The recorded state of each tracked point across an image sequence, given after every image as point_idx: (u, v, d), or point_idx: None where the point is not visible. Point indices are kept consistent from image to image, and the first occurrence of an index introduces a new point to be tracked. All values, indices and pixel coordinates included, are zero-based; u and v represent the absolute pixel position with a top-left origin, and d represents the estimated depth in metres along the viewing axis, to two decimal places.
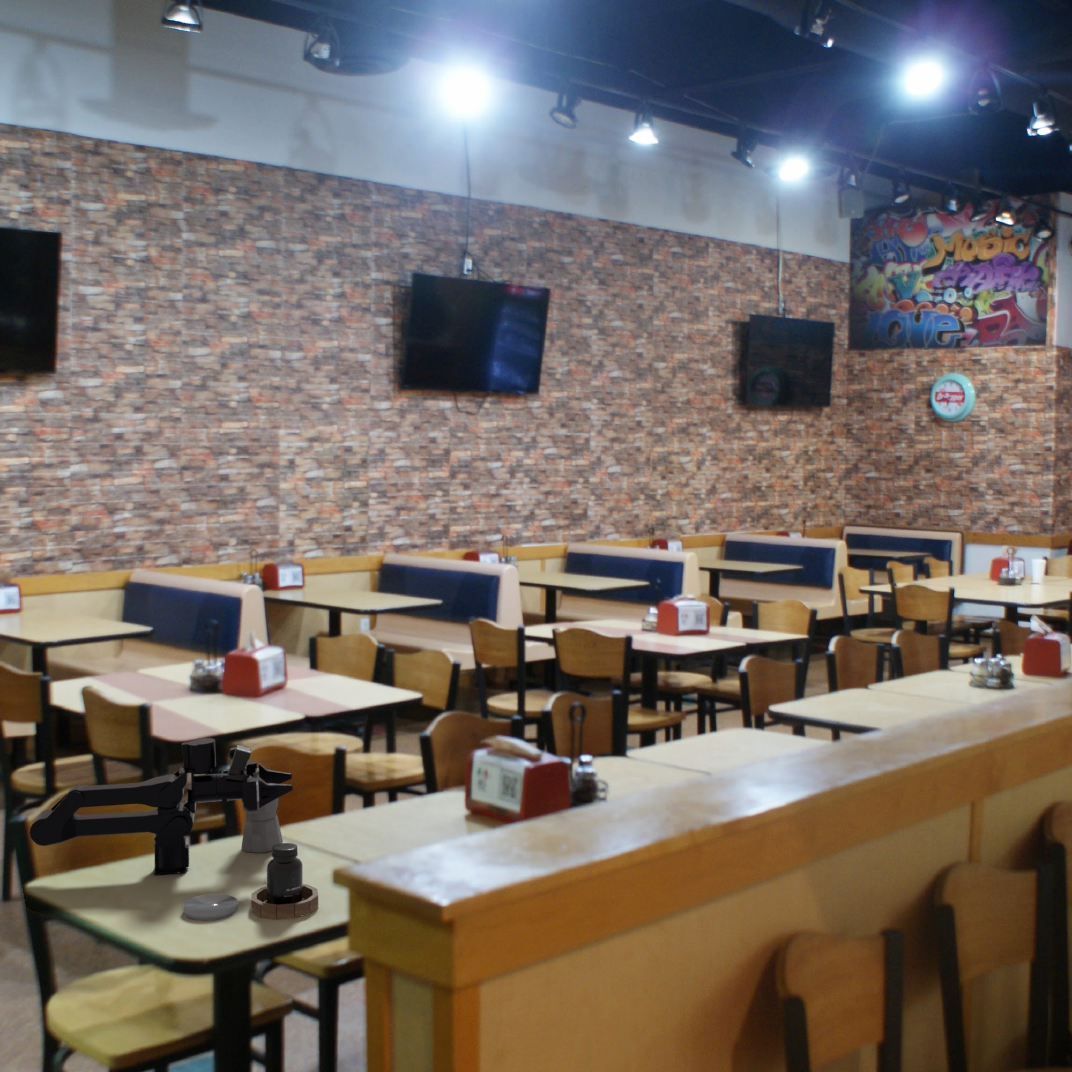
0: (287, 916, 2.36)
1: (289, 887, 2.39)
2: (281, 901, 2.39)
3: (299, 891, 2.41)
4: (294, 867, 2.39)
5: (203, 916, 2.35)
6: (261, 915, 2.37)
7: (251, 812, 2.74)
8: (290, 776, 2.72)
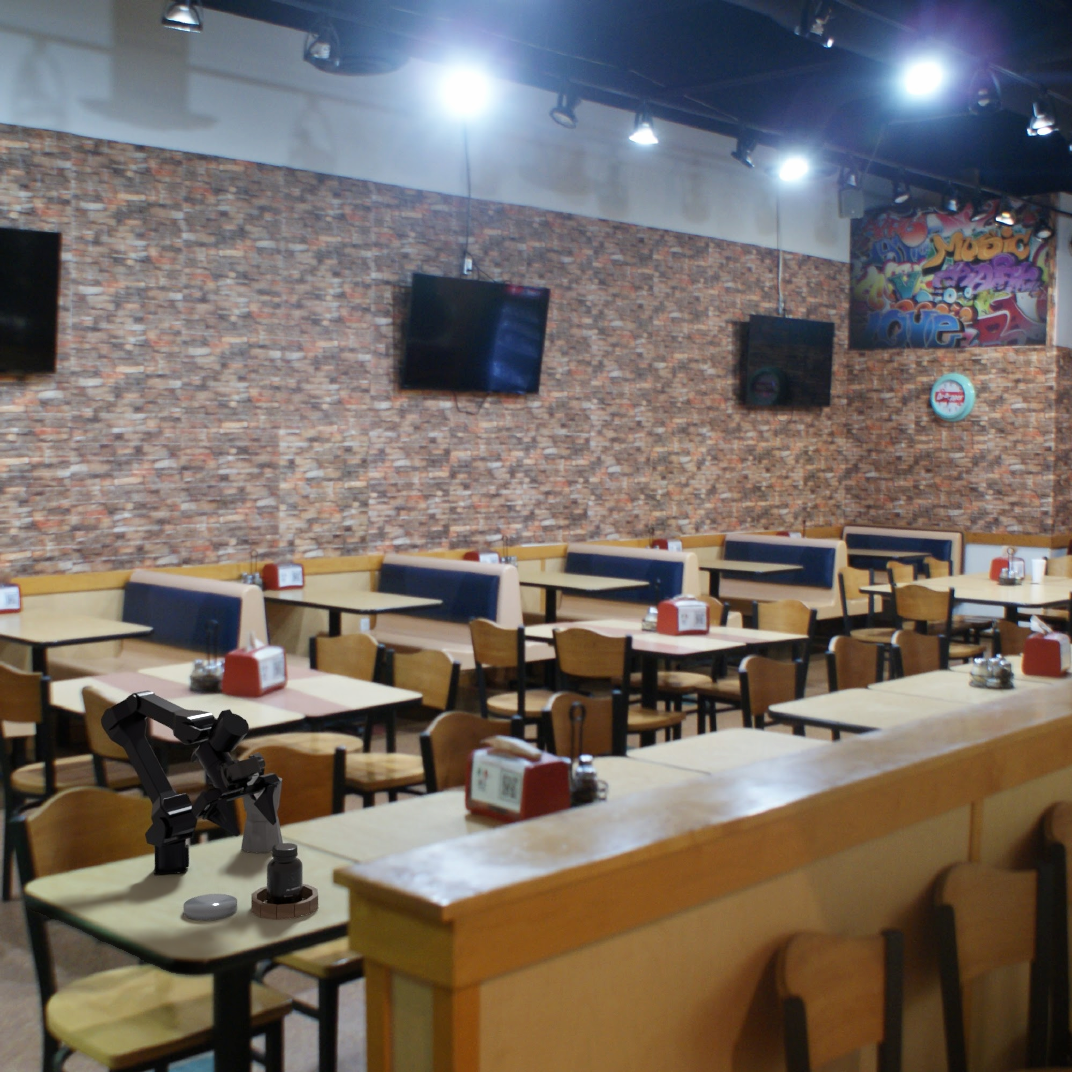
0: (287, 916, 2.36)
1: (289, 887, 2.39)
2: (281, 901, 2.39)
3: (299, 891, 2.41)
4: (294, 867, 2.39)
5: (203, 916, 2.35)
6: (261, 915, 2.37)
7: (252, 812, 2.75)
8: (274, 822, 2.50)
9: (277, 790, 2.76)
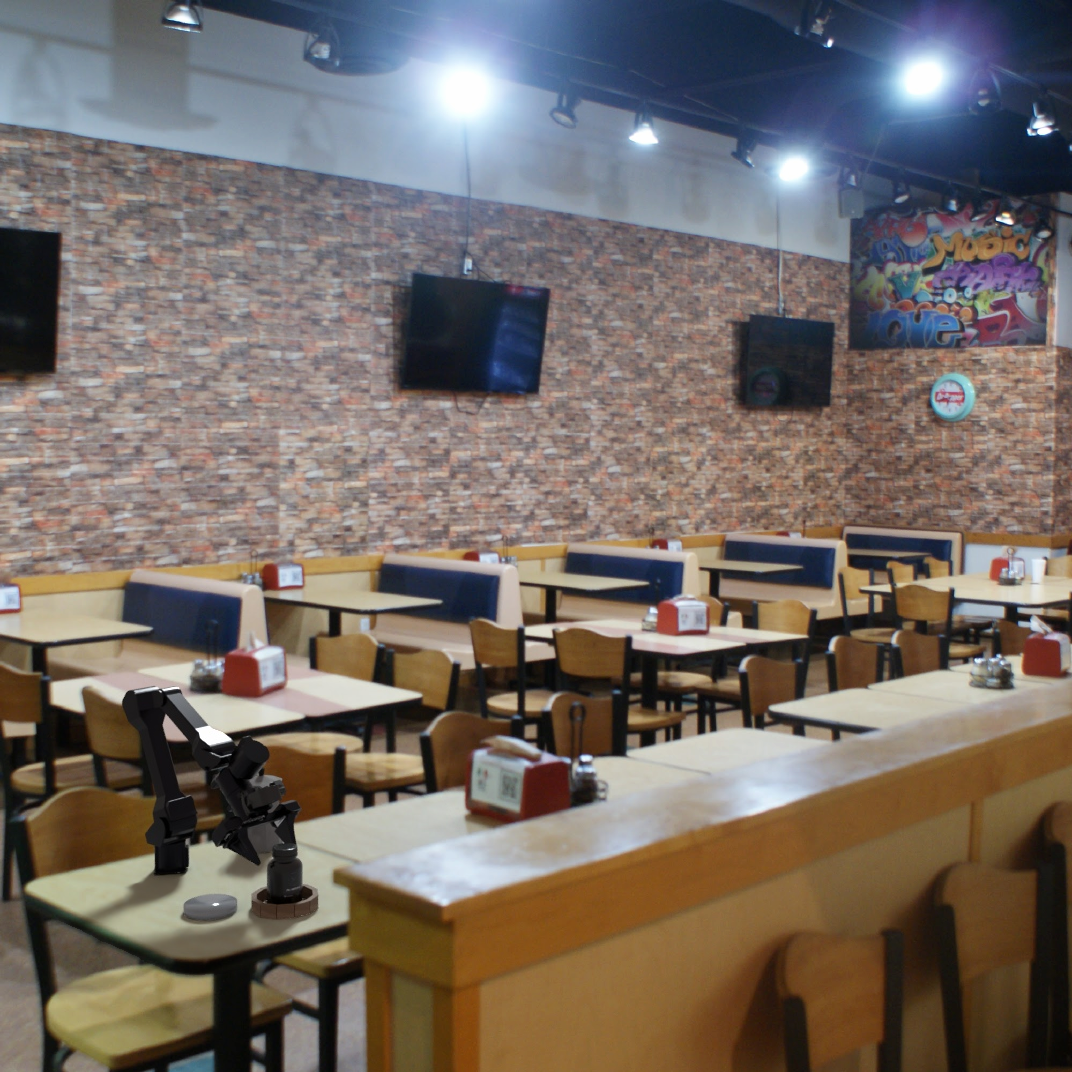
0: (287, 916, 2.36)
1: (289, 887, 2.39)
2: (281, 901, 2.39)
3: (299, 891, 2.41)
4: (294, 867, 2.39)
5: (203, 916, 2.35)
6: (261, 915, 2.37)
7: None
8: None
9: None
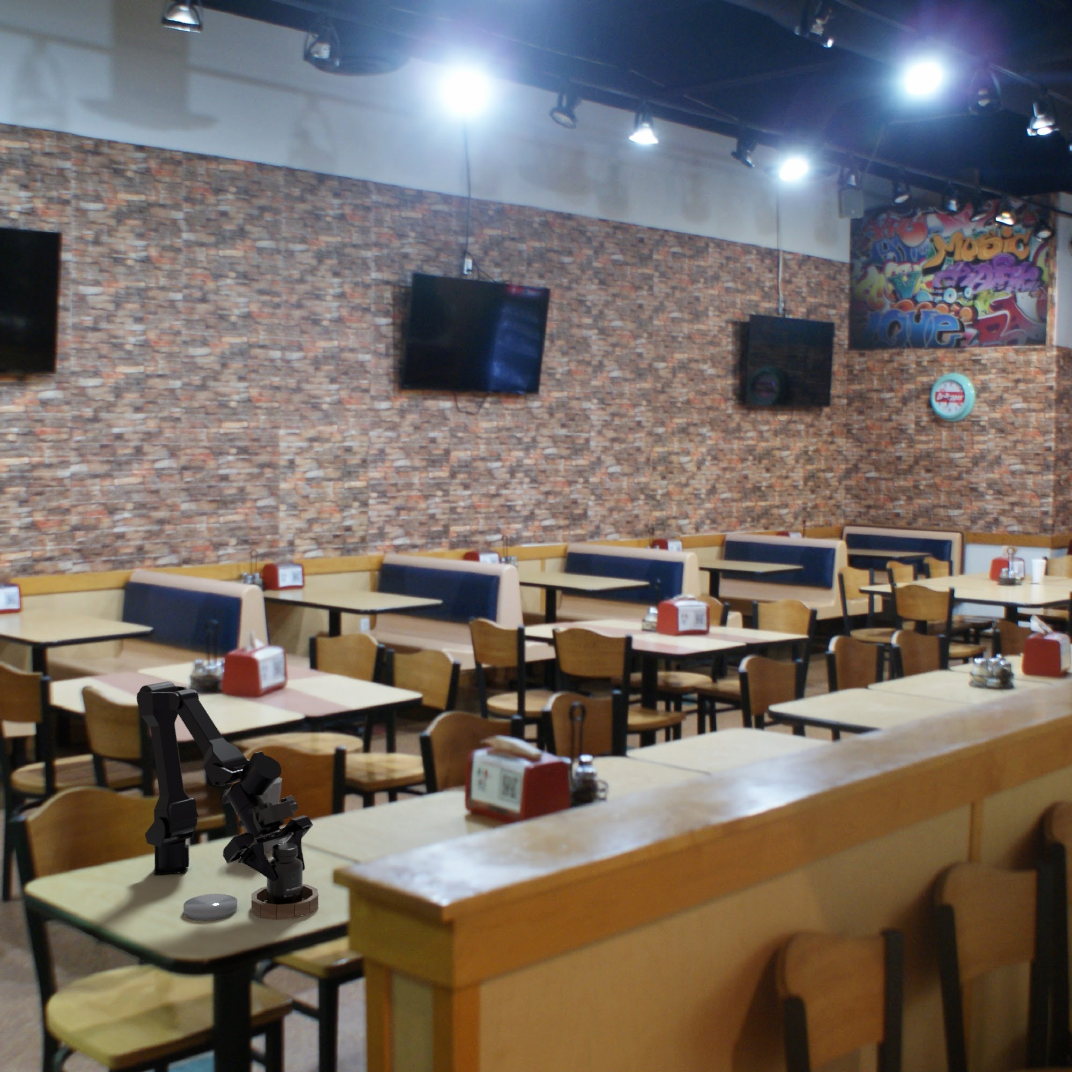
0: (287, 916, 2.36)
1: (289, 887, 2.39)
2: (281, 901, 2.39)
3: (299, 891, 2.41)
4: (294, 867, 2.39)
5: (203, 916, 2.35)
6: (261, 915, 2.37)
7: None
8: None
9: (277, 790, 2.76)
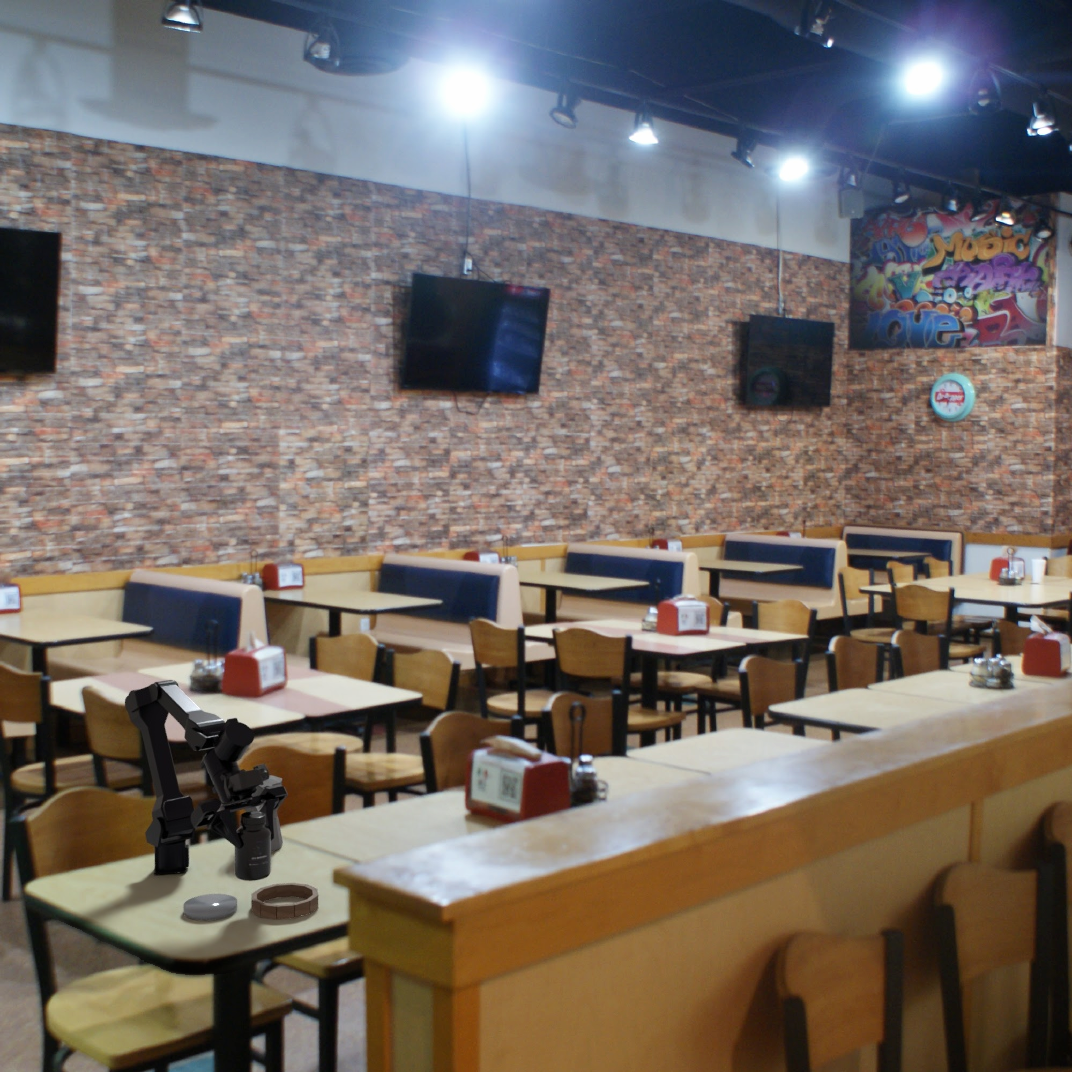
0: (287, 916, 2.36)
1: (255, 856, 2.37)
2: (246, 869, 2.37)
3: (266, 860, 2.38)
4: (260, 835, 2.37)
5: (203, 916, 2.35)
6: (261, 915, 2.37)
7: None
8: (271, 838, 2.41)
9: None
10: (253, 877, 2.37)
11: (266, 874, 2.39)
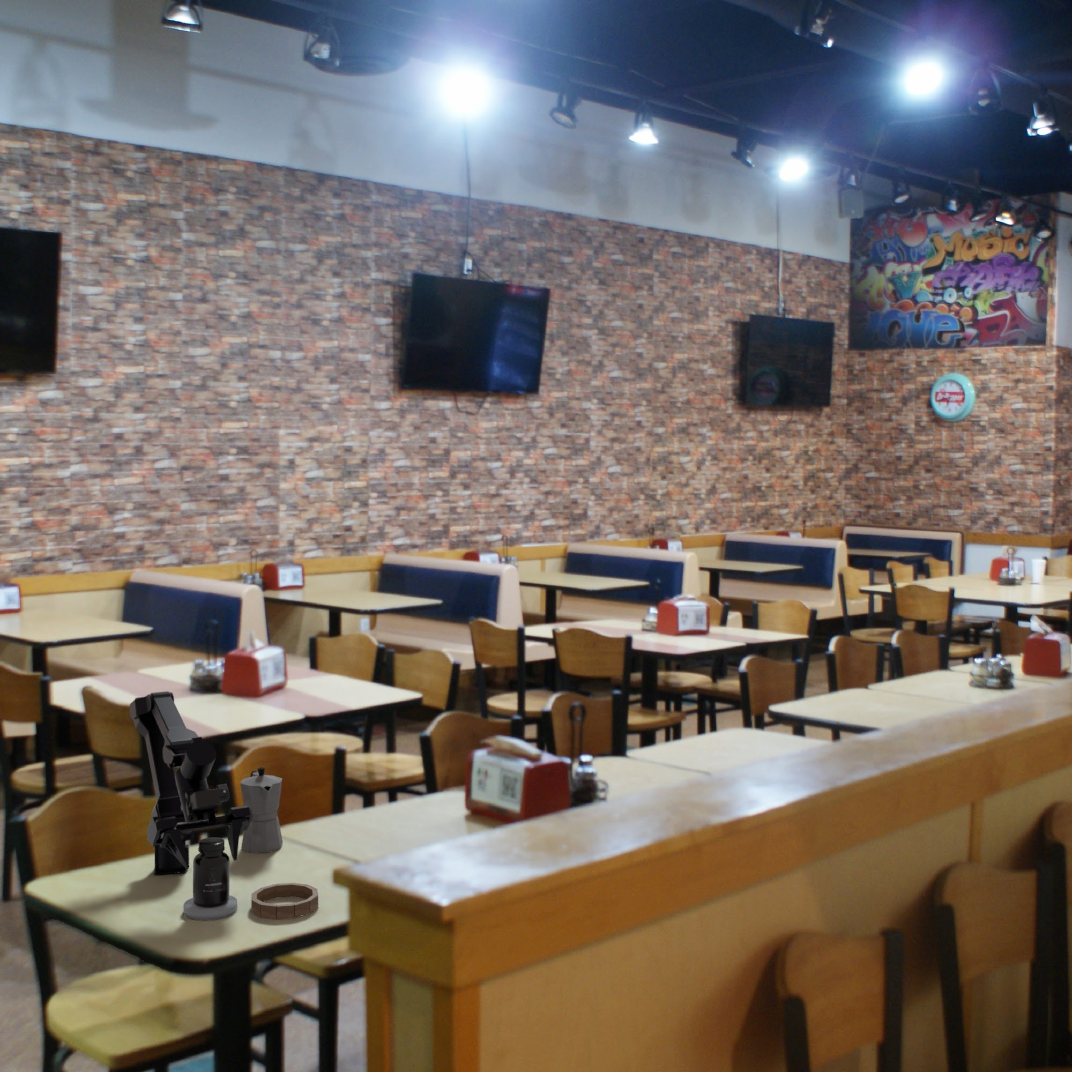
0: (287, 916, 2.36)
1: (208, 882, 2.37)
2: (201, 895, 2.37)
3: (221, 888, 2.38)
4: (214, 862, 2.37)
5: (203, 916, 2.35)
6: (261, 915, 2.37)
7: (252, 812, 2.75)
8: (235, 858, 2.41)
9: (277, 790, 2.76)
10: (207, 904, 2.37)
11: (221, 902, 2.38)
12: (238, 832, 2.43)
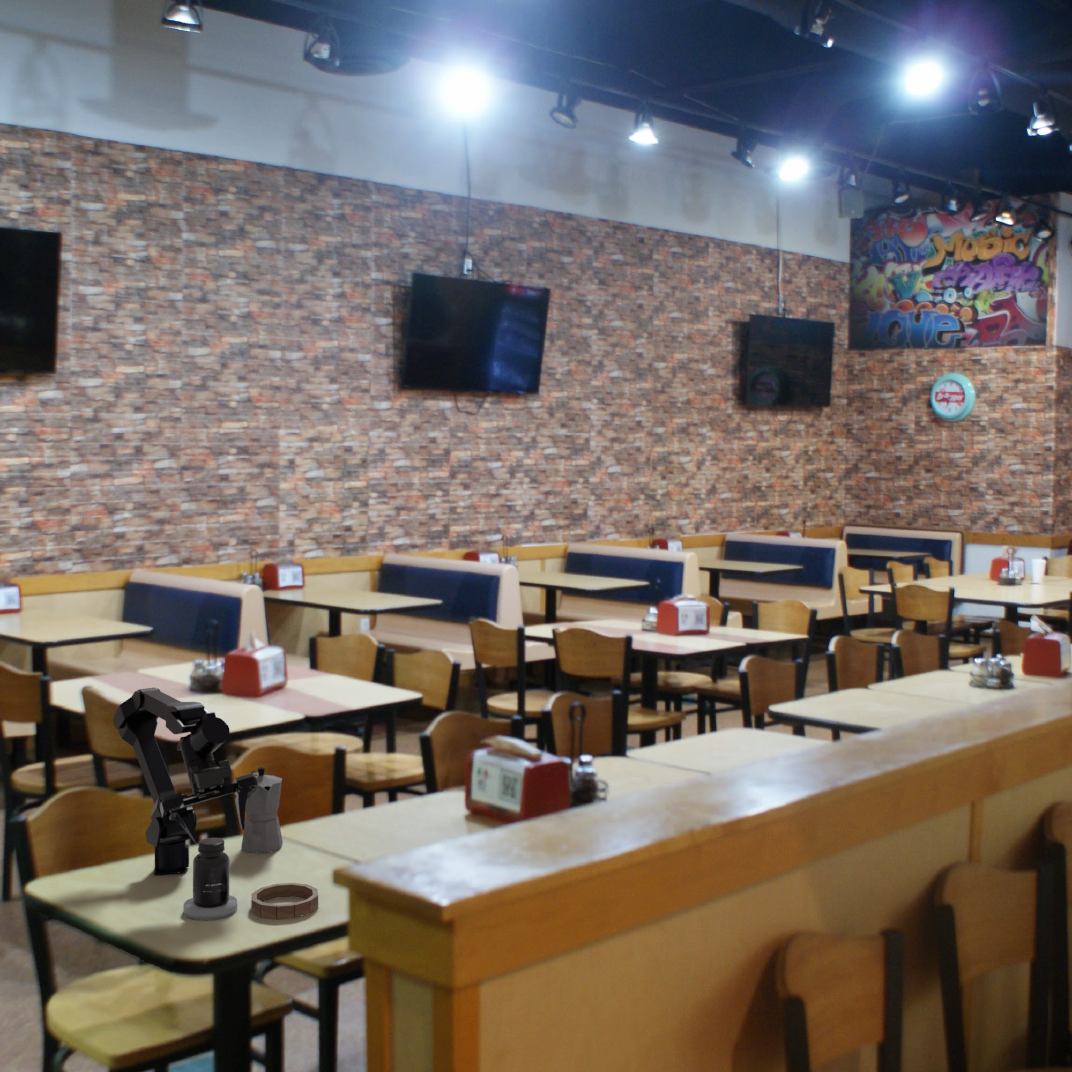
0: (287, 916, 2.36)
1: (208, 883, 2.37)
2: (201, 896, 2.37)
3: (221, 888, 2.38)
4: (214, 863, 2.37)
5: (203, 916, 2.35)
6: (261, 915, 2.37)
7: (252, 812, 2.75)
8: (242, 828, 2.48)
9: (277, 790, 2.76)
10: (207, 904, 2.37)
11: (221, 902, 2.38)
12: (244, 802, 2.49)
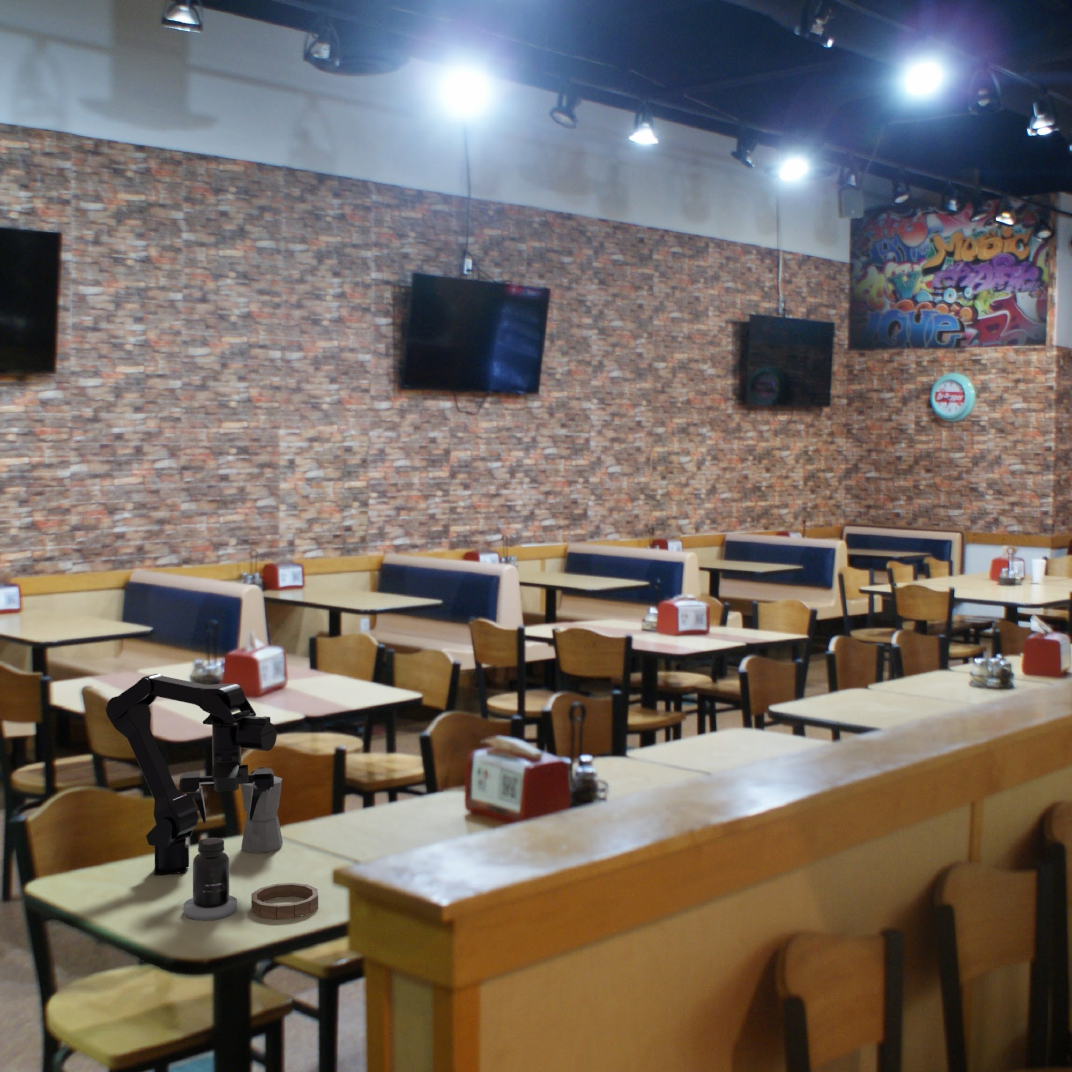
0: (287, 916, 2.36)
1: (208, 883, 2.37)
2: (201, 896, 2.37)
3: (221, 888, 2.38)
4: (214, 863, 2.37)
5: (203, 916, 2.35)
6: (261, 915, 2.37)
7: None
8: None
9: (277, 790, 2.76)
10: (207, 904, 2.37)
11: (221, 902, 2.38)
12: (257, 797, 2.57)
